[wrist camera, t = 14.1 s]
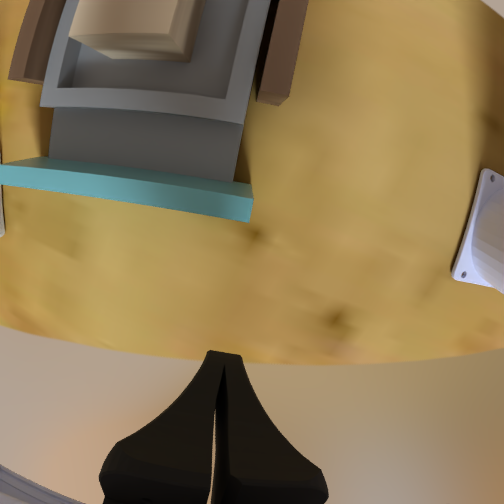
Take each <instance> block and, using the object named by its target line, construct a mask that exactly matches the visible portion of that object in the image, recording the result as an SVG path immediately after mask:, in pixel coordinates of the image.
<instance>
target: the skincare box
mask: <svg viewBox="0 0 504 504" xmlns="http://www.w3.org/2000/svg"><path fill="white" fill-rule="evenodd" d="M0 164H1V153H0ZM4 234H5V226H4V217H3V206H2V190H1V184H0V237H1V236H3V235H4Z"/></svg>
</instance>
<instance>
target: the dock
mask: <svg viewBox="0 0 504 504" xmlns="http://www.w3.org/2000/svg"><path fill="white" fill-rule="evenodd" d="M65 3H66V0H30V2H29V5H28V8H27V11H26V13H25V16H24V19H23V23H22V26H21V29H20V32H19V36H18V39H17V43H16V46H15V50H14V54H13V58H12V62H11V67H10V71H9V76H8V79H9V80H16V81H22V82H28V83H34V84H40V85H43V84H44V79H45V75H46V70H47V66H48V61H49V57H50V53H51V49H52V45H53V42H54V38H55V35H56V31H57V28H58V25H59V21H60V18H61V15H62V12H63V9H64V6H65ZM307 5H308V0H279V1H278V5H277V10H276V14H275V18H274V23H273V27H272V32H271V36H270V41H269V45H268V50H267V54H266V59H265V63H264V68H263V73H262V77H261V82H260V87H259V92H258V96H257V101H256V102H261V103H266V104H271V105H276V106H279V105H280V104H281V103H282V102H283V101H284V100H286V99H287V98H288V97H289V93H290V89H291V84H292V79H293V74H294V69H295V64H296V59H297V54H298V50H299V45H300V40H301V35H302V30H303V25H304V20H305V15H306V10H307Z"/></svg>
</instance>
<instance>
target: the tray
mask: <svg viewBox="0 0 504 504" xmlns="http://www.w3.org/2000/svg"><path fill="white" fill-rule="evenodd" d="M78 3H79V0H66V3H65V6H64V9H63V12H62V15H61V18H60V21H59V25H58V28H57V31H56V35H55V38H54V42H53V45H52V49H51V53H50V57H49V61H48V66H47V70H46V75H45V79H44V84H43V89H42V95H41V101H40V107H50V108H54V114H53V121H52V128H51V136H50V145H49V155H48V157H45V156H42V157H36V158H30V159H25V160H19V161H14V162H9V163H4V164H0V184H2V185H10V186H18V187H25V188H33V189H40V190H48V191H55V192H62V193H69V194H76V195H83V196H90V197H97V198H104V199H110V200H117V201H123V202H130V203H136V204H142V205H149V206H155V207H161V208H167V209H173V210H179V211H185V212H191V213H197V214H203V215H208V216H214V217H220V218H225V219H231V220H237V221H242V222H248V223H249V220H250V215H251V210H252V205H253V200H254V198H253V192H252V186H251V184H246V183H241V182H235V181H233V178H234V173H235V167H236V162H237V157H238V152H239V147H240V142H241V137H242V132H243V127H244V122H245V117H246V112H247V107H248V102H249V97H250V93H251V88H252V83H253V78H254V74H255V69H256V65H257V60H258V55H259V51H260V46H261V42H262V38H263V33H264V29H265V24H266V20H267V16H268V12H269V7H270V3H271V0H206V2H205V6H204V9H203V13H202V17H201V20H200V24H199V28H198V32H197V36H196V40H195V44H194V48H193V53H192V57H191V61H190V63H186V62H175V61H160V60H139V59H111V58H109V57H108V56H106V55H104V54H102V53H100V52H98V51H96V50H94V49H92V48H91V47H89V46H87V45H85V44H83V43H81V42H79V41H77V40H75V39H73V38H71V37H69V36H68V35H69V32H70V28H71V25H72V22H73V18H74V15H75V12H76V9H77V6H78Z"/></svg>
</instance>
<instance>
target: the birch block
mask: <svg viewBox="0 0 504 504" xmlns="http://www.w3.org/2000/svg"><path fill="white" fill-rule="evenodd" d="M205 2H206V0H79V3H78V6H77V9H76V12H75V15H74V18H73V22H72V25H71V28H70V32H69V35H68V36H69V37H71V38H73V39H75V40H77V41H79V42H81V43H83V44H85V45H87V46H89V47H91V48H92V49H94V50H96V51H98V52H100V53H102V54H104V55H106V56H108V57H109V58H111V59H139V60H160V61H175V62H186V63H190V61H191V57H192V53H193V48H194V44H195V40H196V36H197V32H198V28H199V24H200V20H201V17H202V13H203V9H204V6H205Z"/></svg>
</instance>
